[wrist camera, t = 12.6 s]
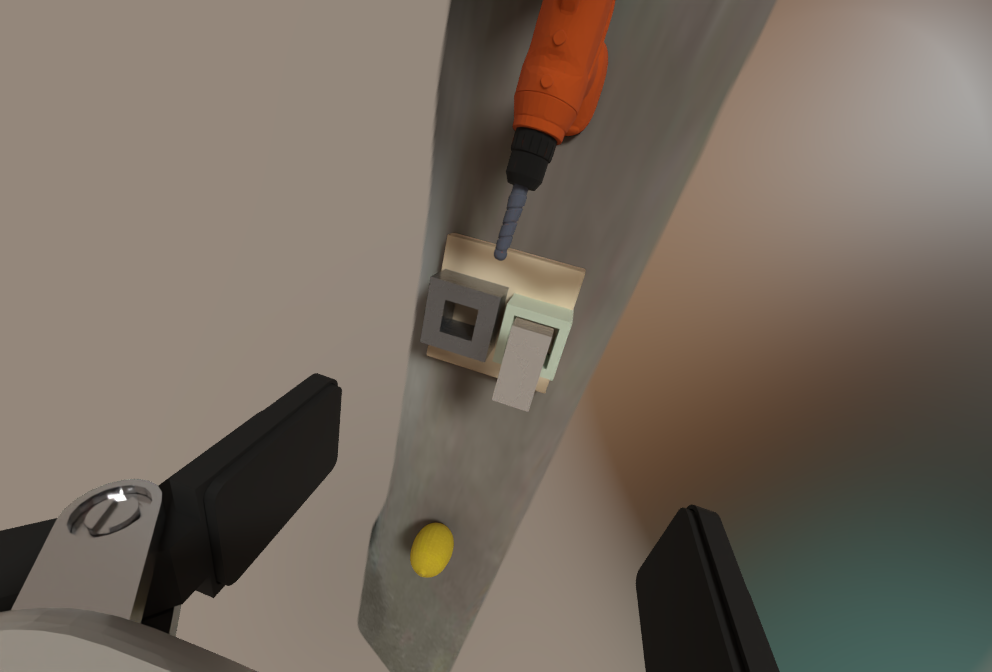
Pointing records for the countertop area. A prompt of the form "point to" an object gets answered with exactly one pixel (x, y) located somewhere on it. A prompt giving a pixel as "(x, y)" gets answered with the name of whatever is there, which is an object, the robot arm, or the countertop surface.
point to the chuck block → (458, 334)
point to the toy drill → (554, 94)
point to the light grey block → (522, 363)
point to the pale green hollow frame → (540, 314)
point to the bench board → (521, 277)
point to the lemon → (431, 550)
